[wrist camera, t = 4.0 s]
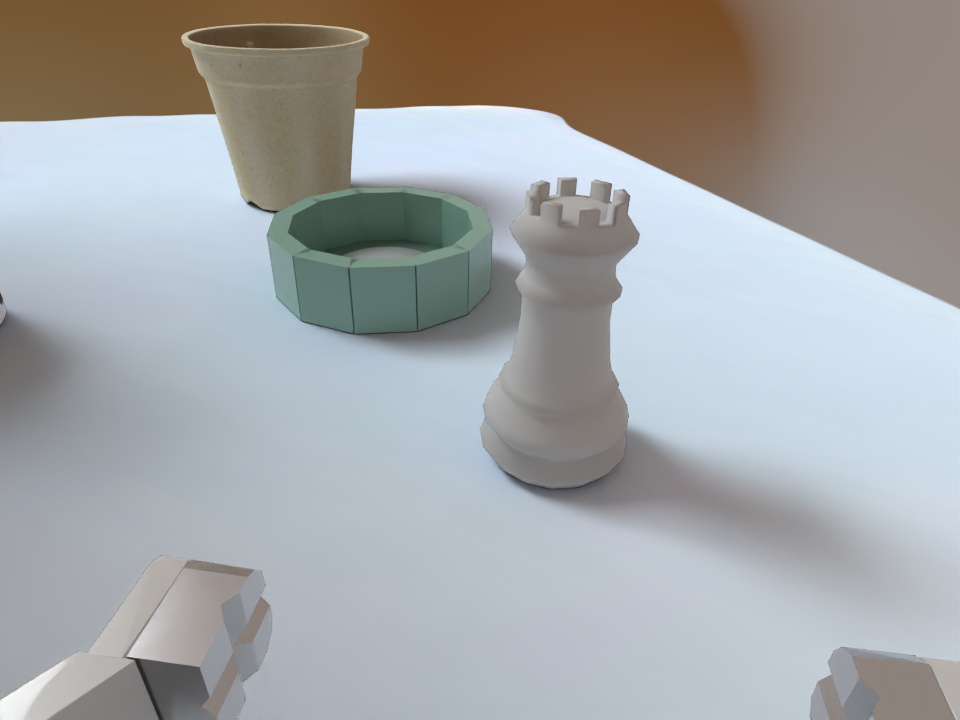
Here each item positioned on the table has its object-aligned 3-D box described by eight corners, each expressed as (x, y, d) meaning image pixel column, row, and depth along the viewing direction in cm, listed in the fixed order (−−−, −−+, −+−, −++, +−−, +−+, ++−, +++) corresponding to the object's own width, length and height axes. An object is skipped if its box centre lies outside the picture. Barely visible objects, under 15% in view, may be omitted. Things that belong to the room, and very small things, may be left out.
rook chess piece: (472, 490, 19) (479, 220, 15) (485, 398, 23) (493, 162, 19) (632, 503, 19) (685, 232, 14) (618, 408, 23) (658, 170, 18)
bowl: (265, 337, 26) (253, 270, 24) (291, 243, 34) (283, 188, 32) (502, 327, 27) (505, 262, 25) (474, 239, 35) (475, 185, 33)
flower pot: (403, 209, 38) (397, 42, 34) (232, 236, 34) (198, 51, 30) (347, 165, 45) (336, 21, 40) (199, 183, 41) (168, 26, 37)
